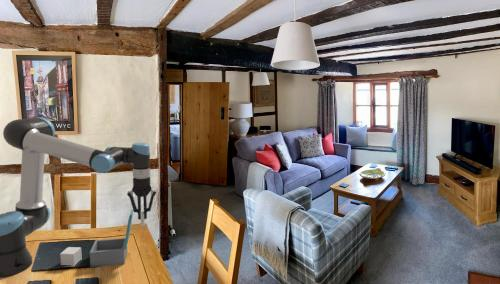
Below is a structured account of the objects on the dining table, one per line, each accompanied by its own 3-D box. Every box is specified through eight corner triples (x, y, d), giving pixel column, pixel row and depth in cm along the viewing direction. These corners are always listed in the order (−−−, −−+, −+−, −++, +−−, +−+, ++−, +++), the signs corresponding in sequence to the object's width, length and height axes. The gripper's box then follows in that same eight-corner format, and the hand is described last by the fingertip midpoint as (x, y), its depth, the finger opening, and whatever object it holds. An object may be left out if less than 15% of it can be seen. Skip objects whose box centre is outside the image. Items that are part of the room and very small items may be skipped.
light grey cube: (81, 259, 146) (81, 247, 146) (74, 266, 141) (73, 254, 140) (69, 258, 147) (68, 246, 146) (61, 266, 141) (60, 253, 140)
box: (90, 267, 140) (89, 252, 139) (96, 253, 152) (95, 240, 150) (124, 263, 144) (123, 249, 143) (127, 250, 155) (126, 237, 154)
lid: (128, 219, 141) (130, 219, 141) (131, 209, 153) (133, 209, 153) (123, 249, 142) (126, 249, 143) (126, 236, 154) (129, 236, 154)
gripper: (125, 179, 140) (126, 230, 144) (156, 178, 143) (156, 227, 147) (127, 175, 147) (128, 223, 151) (156, 174, 150) (157, 221, 154)
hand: (142, 225), depth 149 cm, fingers closed
